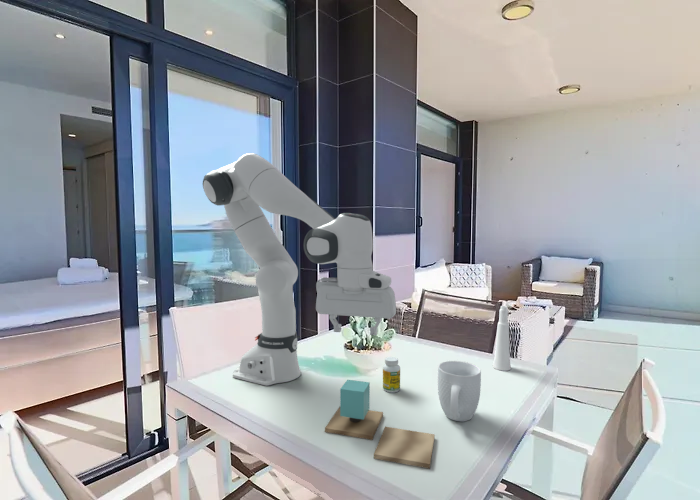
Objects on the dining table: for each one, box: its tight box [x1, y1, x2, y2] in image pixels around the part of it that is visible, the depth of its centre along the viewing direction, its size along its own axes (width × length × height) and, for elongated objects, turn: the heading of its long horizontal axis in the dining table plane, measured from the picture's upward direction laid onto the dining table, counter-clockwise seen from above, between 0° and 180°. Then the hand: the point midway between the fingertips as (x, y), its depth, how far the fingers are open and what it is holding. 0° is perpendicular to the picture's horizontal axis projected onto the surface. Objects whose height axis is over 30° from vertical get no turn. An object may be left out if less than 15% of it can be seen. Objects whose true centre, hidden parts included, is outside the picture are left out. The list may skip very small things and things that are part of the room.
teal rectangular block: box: [339, 379, 371, 420], centre depth 100 cm, size 6×6×7 cm
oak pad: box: [373, 426, 436, 469], centre depth 90 cm, size 12×12×1 cm
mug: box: [437, 360, 482, 423], centre depth 103 cm, size 15×11×13 cm
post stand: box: [324, 406, 384, 441], centre depth 100 cm, size 12×12×9 cm
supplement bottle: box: [382, 356, 401, 393], centre depth 121 cm, size 5×5×10 cm
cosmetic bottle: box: [492, 305, 512, 372], centre depth 138 cm, size 6×6×22 cm
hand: (355, 333), depth 99 cm, fingers open, 8 cm apart
